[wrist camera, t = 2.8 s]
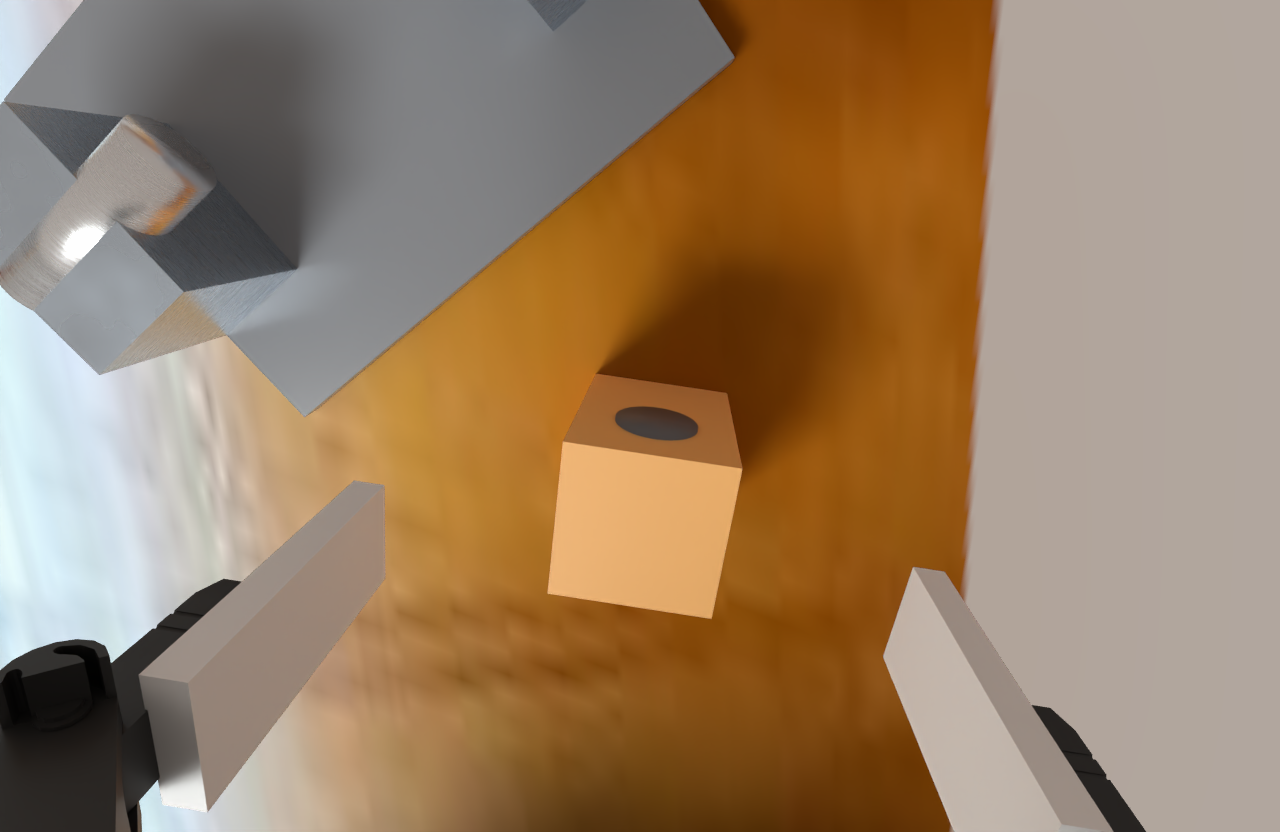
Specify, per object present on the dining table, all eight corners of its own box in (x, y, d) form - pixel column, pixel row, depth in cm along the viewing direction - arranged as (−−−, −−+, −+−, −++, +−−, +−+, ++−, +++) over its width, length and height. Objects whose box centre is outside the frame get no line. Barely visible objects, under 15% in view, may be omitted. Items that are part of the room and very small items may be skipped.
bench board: (732, 62, 20) (734, 57, 20) (315, 410, 25) (304, 417, 25) (436, -399, 17) (425, -425, 17) (26, 102, 22) (4, 99, 22)
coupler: (727, 390, 24) (743, 465, 18) (704, 511, 26) (710, 621, 19) (596, 370, 24) (563, 438, 18) (582, 493, 26) (547, 596, 19)
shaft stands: (657, -65, 19) (645, -167, 13) (226, 334, 24) (93, 376, 18) (525, -270, 17) (454, -474, 12) (98, 199, 22) (-86, 202, 17)
